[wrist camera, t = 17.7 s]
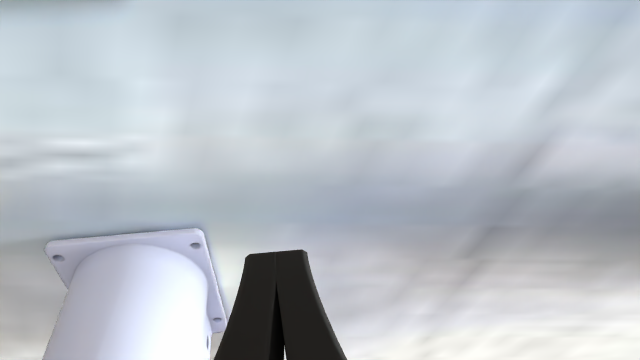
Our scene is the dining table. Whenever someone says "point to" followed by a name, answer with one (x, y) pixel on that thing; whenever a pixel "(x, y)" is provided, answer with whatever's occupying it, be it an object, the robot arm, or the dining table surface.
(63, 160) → the dining table surface
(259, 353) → the robot arm
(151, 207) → the dining table surface
